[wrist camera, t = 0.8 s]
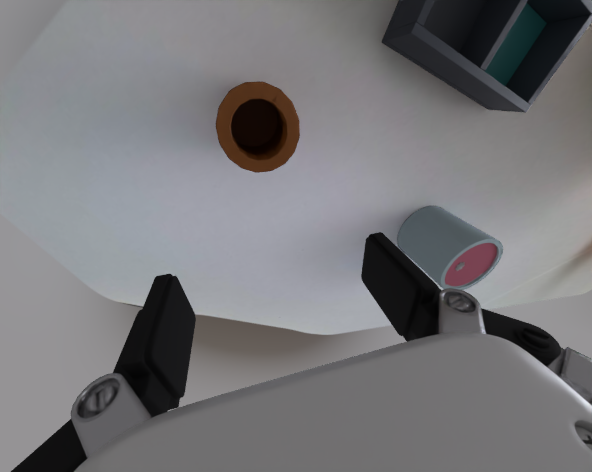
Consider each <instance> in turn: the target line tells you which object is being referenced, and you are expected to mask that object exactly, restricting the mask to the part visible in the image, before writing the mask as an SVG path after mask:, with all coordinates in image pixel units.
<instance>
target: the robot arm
mask: <svg viewBox="0 0 592 472" xmlns="http://www.w3.org/2000/svg"><path fill="white" fill-rule="evenodd" d="M361 277H362V281H363V283H364V284H365V286H366V287H367V289H368V290H369V292H370V293H371V294H372V296H373V297H374V299H375V300H376V302H377V303H378V305H379V306H380V308H381V309H382V311H383V312H384V314H385V315H386V316H387V318H388V319H389V321H390V322H391V324H392V325H393V327H394V328H395V330H396V331H397V333H398V334H399V335H401V336H403V337H404V338H405V340H406V341H407V342H404V343H401V344H397V345H393V346H390V347H386V348H382V349H379V350H375V351H372V352H368V353H364V354H361V355H358V356H354V357H350V358H347V359H343V360H340V361H336V362H332V363H329V364H325V365H322V366H318V367H315V368H312V369H308V370H305V371H301V372H298V373H294V374H290V375H287V376H284V377H280V378H277V379H273V380H270V381H266V382H263V383H259V384H256V385H252V386H249V387H246V388H242V389H239V390H235V391H232V392H229V393H225V394H221V395H218V396H215V397H212V398H208V399H205V400H202V401H199V402H196V403H192V404H189V405H186V406H183V407H179V408H177V407H178V406H179V400H180V398H181V397H183V396H184V393H185V386H186V381H187V374H188V367H189V361H190V354H191V347H192V341H193V334H194V328H195V321H196V318H195V313H194V311H193V309H192V307H191V305H190V303H189V301H188V299H187V297H186V295H185V293H184V290H183V288H182V286H181V284H180V282H179V280H178V278H177V277H176V276H172V275H171V274H166V275H161V276H156V277H155V279H154V282H153V284H152V287H151V289H150V292H149V294H148V297H147V299H146V302H145V304H144V307H143V309H142V310H140V311H139V312H138V314H137V316H136V318H135V321H134V323H133V326H132V328H131V330H130V333H129V335H128V338H127V340H126V342H125V345H124V347H123V350H122V352H121V354H120V357H119V359H118V362H117V364H116V367H115V369H114V372H113V373H111V374H107V375H104V376H102V377H100V378H98V379H96V380H95V381H93V382H92V383H91V384H90V385H88V386H87V387H86V388H85V389H84V390H83V391H82V393H81V394H80V395H79V396H78V397H77V399H76V401H75V402H74V404H73V407H72V410H71V419H70V420H69V421H68V422H67V423H66V424H65V425H63V426H62V427H61V428H60V429H59V430H58V431H57V432H56V433H54V434H53V435H52V436H51V437H50V438H49V439H48V440H47V441H45V442H44V443H43V444H42V445H41V446H40V447H38V448H37V449H36V450H35V451H34V452H33V453H32V454H30V455H29V456H28V457H27V458H26V459H25V460H24V461H23V462H21V463H20V464H19V465H18V466H17V467H16V468H14V469H13V470H12V471H11V472H592V359H591V358H589V357H587V356H585V355H582V354H581V353H579V352H577V351H575V350H572V349H570V348H568V347H567V348H566V349H563V348H561V347H560V346H559V343H558V342H557V341H556V340H555V339H554V338H553V337H552V336H551V335H550V334H548V333H547V332H546V331H544V330H542V329H541V328H539V327H536V326H534V325H532V324H529V323H525V322H522V321H519V320H516V319H513V318H510V317H507V316H504V315H500V314H497V313H494V312H491V311H488V310H485V309H482V308H481V306H480V304H479V302H478V301H477V300H476V299H475V298H474V297H473V296H472V295H470V294H469V293H467V292H465V291H462V290H459V289H454V288H447V289H444V290H442V291H441V290H440V289H439V288H438V286H437V285H436V284H435V283H434V282H433V281H432V280H431V279H430V278H429V277H428V276H427V275H426V274H425V273H424V272H423V271H422V270H421V269H420V268H419V267H417V266H416V265H415V264H414V263H413V262H412V261H411V260H410V259H409V258H408V257H407V256H406V255H405V254H404V253H403V252H402V251H401V250H400V249H399V248H398V247H397V246H395V245H394V244H393V243H392V242H391V241H390V240H389V239H388V238H387V237H386V236H385V235H384V234H383V233H381V232H379V233H374V234H370V235H369V237H368V238H366V243H365V251H364V259H363V267H362V275H361ZM415 339H416V340H415ZM174 408H177V409H174ZM170 409H174V410H171V411H168V410H170ZM167 411H168V412H167Z"/></svg>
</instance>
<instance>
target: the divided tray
mask: <svg viewBox="0 0 592 472" xmlns="http://www.w3.org/2000/svg"><path fill="white" fill-rule="evenodd" d="M591 22H592V0H399V2H398V4H397V6H396V9H395V11H394V13H393V16H392V18H391V21H390V23H389V25H388V28H387V30H386V33H385V35H384V37H383V40H382V43H384V44H385V45H387V46H388V47H390V48H392V49H393V50H395V51H396V52H398V53H400V54H401V55H403V56H404V57H406V58H407V59H409V60H411V61H412V62H414V63H415V64H417V65H419V66H420V67H422V68H423V69H425V70H427V71H428V72H430V73H431V74H433V75H434V76H436V77H438V78H439V79H441V80H442V81H444V82H446V83H447V84H449V85H450V86H452V87H453V88H455V89H457V90H458V91H460V92H461V93H463V94H465V95H466V96H468V97H469V98H471V99H472V100H474V101H476V102H477V103H479V104H480V105H482V106H484V107H485V108H487V109H489V110H501V111H513V112H527V110H528V109H529V108H530V106H531V105H532V103H533V102H534V101H535V99H536V98H537V96H538V95H539V94H540V92H541V91H542V90H543V88H544V87H545V85H546V84H547V83H548V81H549V80H550V79H551V77H552V76H553V74H554V73H555V72H556V70H557V69H558V68H559V66H560V65H561V63H562V62H563V61H564V59H565V58H566V57H567V55H568V54H569V53H570V51H571V50H572V48H573V47H574V46H575V44H576V43H577V42H578V40H579V39H580V37H581V36H582V35H583V33H584V32H585V31H586V29H587V28H588V26H589V25H590V24H591Z"/></svg>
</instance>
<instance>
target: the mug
mask: <svg viewBox="0 0 592 472" xmlns="http://www.w3.org/2000/svg"><path fill="white" fill-rule="evenodd" d="M397 241H398V245H399V247H400V248H401V249H402V250H403V251H404V252H405V253H406V254H407V255H408V256H409V257H410V258H411V259H412V260H413V261H414V262H415V263H417V264H418V265H419V266H420V267H421V268H422V269H423V270H424V271H425V272H426V273H427V274H428V275H429V276H430V277H431V278H432V279H433V280H435V281H436V282H437V283H438V284H439V285H440V286H441V287H442V288H443V289H447V288H454V289H459V290H464V289H467V288H469V287H471V286H473V285H475V284H476V283H478V282H479V281H481V280H482V279H483V278H485V277H486V276H487V275H488V274H489V273H490V272H491V271H492V270H493V269H494V268H495V266H496V265H497V263H498V262H499V260H500V258H501V256H502V253H503V246H502V243H501V242H500V241H498V240H497V239H495V238H493V237H491V236H490V235H488V234H486V233H484V232H483V231H481V230H479V229H477V228H476V227H474V226H472V225H470V224H469V223H467V222H465V221H463V220H462V219H460V218H458V217H456V216H454V215H453V214H451V213H449V212H447V211H446V210H444V209H442V208H440V207H438V206H428V207H424V208H422V209H420V210H418V211H416V212H415V213H413V214H412V215H411V216H410V217H409V218H408V219H407V220H406V221H405V222H404V224H403V225H402V227H401V228H400V231H399V233H398V238H397Z"/></svg>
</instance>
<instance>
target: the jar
mask: <svg viewBox="0 0 592 472" xmlns="http://www.w3.org/2000/svg"><path fill="white" fill-rule="evenodd" d="M298 119H299V118H298V115H297V113H296V110H295V108H294V105H293V103H292V101H291V100H290V99H289V98H288V97H287V96H286V95H285V94H284V93H283V92H282V91H281V90H280V89H279V88H277V87H274V86H272V85H270V84H267V83H265V82H246V83H243V84H240V85H238V86H237V87H235V88H233V89H231V90H230V91H229V92H228V94H227V95H226V97H225V98H224V100H223V101H222V103H221V104H220V106H219V108H218V114H217V120H216V130H217V135H218V140H219V143H220V145H221V147H222V148H223V150H224V152H225V153H226V155H227V156H228V158H229V159H230V160H232V161H233V162H234V163H235V164H237V165H238V166H239V167H241V168H243V169H246V170H250V171H253V172H266V171H271V170H274V169H276V168H278V167H280V166H282V165H284V164H285V163H286V162H287V161H288V159H289V158H290V157H291V156H292V155H293V153H294V152H295V149H296V146H297V143H298V140H299V136H300V131H299V120H298Z"/></svg>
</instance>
